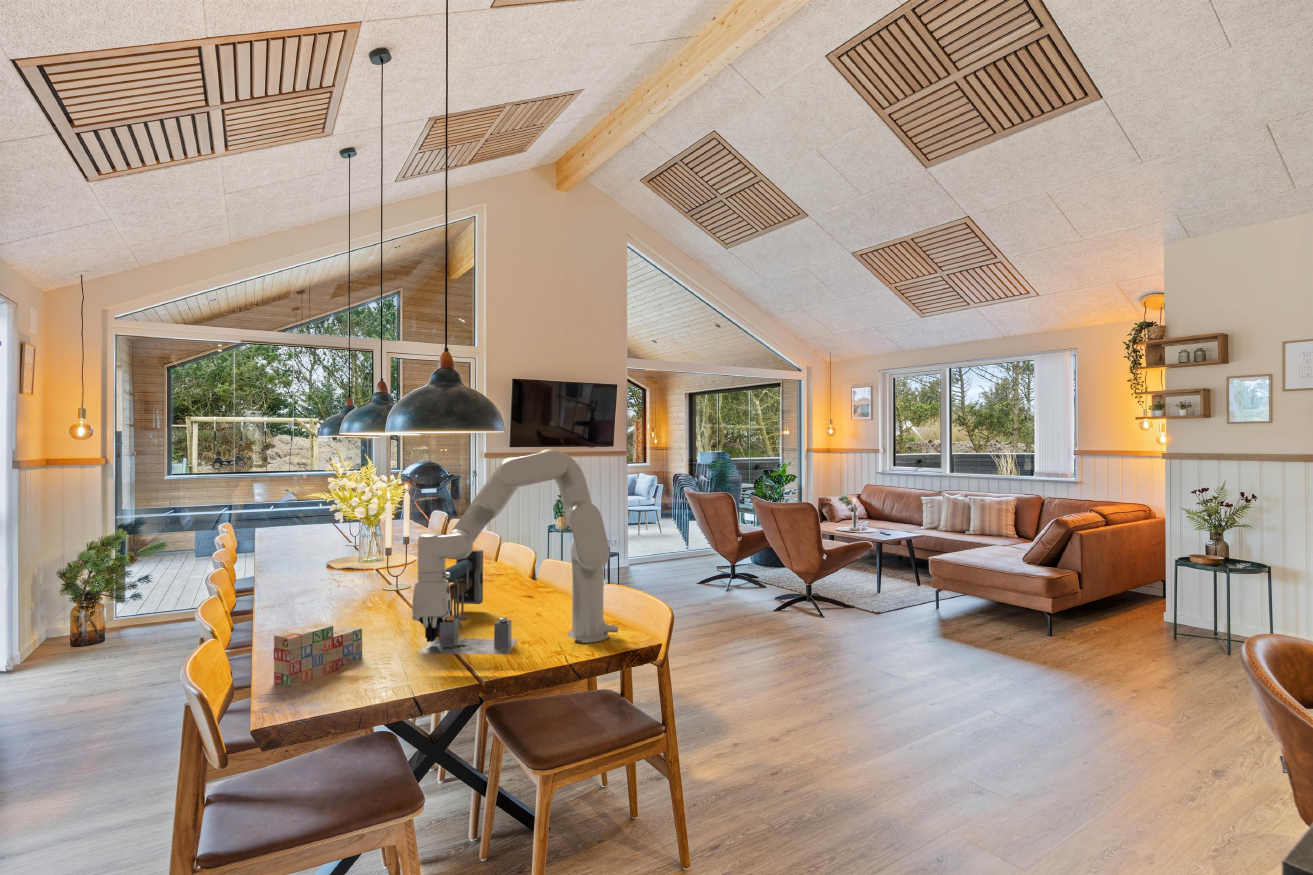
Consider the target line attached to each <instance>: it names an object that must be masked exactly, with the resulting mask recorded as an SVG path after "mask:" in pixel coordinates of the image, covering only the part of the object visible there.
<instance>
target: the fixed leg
mask: <svg viewBox="0 0 1313 875" xmlns="http://www.w3.org/2000/svg"><path fill="white" fill-rule="evenodd" d="M493 626H494V628H493V629H494V630H493V631H494V632H493V636H494V637H493V639H494V648H509V647H510V645H511V639H512V619H508V617H506V616H503V617H498V619H497V620H495V622H494V624H493Z"/></svg>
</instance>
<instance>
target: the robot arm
mask: <svg viewBox="0 0 1313 875" xmlns="http://www.w3.org/2000/svg"><path fill="white" fill-rule="evenodd" d="M552 480H554V481H555V484H556V485H557V487H558V490H559V494H560V497H561V501H562V505H563V511H564V516H565V517H564V519H565V521H566V524H567V526H568V527H569V529H571V532H572V538H573V542H572V545H571V549H570V550H571V551H570V553H571V554H570V556H571V571H572V573H571V574H572V586H571V588H572V592H571V593H572V594H571V595H572V597H571V598H572V602H571V603H572V604H571V606H572V609H571V610H572V615H571V616H572V618H571V620H572V621H571V622H572V625H571V626H572V630H570V631H568V632H567V637H568V638H571V639H575V640H574V642H575V643H579V642H581V644H590V643H593V642H594V643H599V641H600V642H604V641H605V640H608V638H609V633H615V634H617V633H619V626H618V625H615V624H607V623H606V620H605V619H604V588H605V587H604V585H605V584H604V583H605V582H604V581H605V580H604V579H605V577H604V567H606V565H607V563H608V562H609V559H610V546H609V542H608V541H609V540H608V536H607V533H606V528H605V524H604V520H603V516H602V514H601V512H600V509H599V508H598V507H597V506H596V505H595V504H594V503H593V502H592V499H591V495H590V494H591V493H590V491H589V487H588V484H587V480H586V477H585V474H584V472H583V470H582V468H581V467H580V465H579V464H578V463H577V461H576V460H574V459H573V458H572V457H571V456H570V455H568V454H567V453H565V452H563V451H562V452H561V451H559V450H557V449H553V448H547V449H543V450H541V451H540V452H537V453H532V454H529V455H523V456H518V457H517V456H516V457H513V456H510V457H506V458H505V459H503V460H502V461H500V463H499V464H498V465H497V467H496V468H495V470H493V472H492V474H491V475H490V477H488V479H487V480H486V482H485V483H484V485H483V486H482V487H481V489H480V490H479V491H478V493H477V494H476V496H474V498H473V499H472V501H471V503H470V505H469V506H468V507H467V509H466V510H465V512H464V513H463V515H462V516H461V517H460V518H459V520H458V521H457V523H456V524H455V525H454V527H453V528H452V529H451V531H450V532H449V534H443V533H441V532H427V533H422V534H420V535H419V536H418V538H417V580H416V581H415V583H414V588H413V593H412V604H411V606H412V607H411V610H412V620H413V621H416V622H420V623H421V624H422V625H423V628H425V629H424V630H425V631H424V632H425V633H424V634H425V639H426V642H428V643H430V642H433V641H434V640H435V639H438V633H437V631H438V625H439V624H440V622H441V621H445V618H449V617H451V616H450V612H451V594H450V587H449V585H450V583H449V582H448V580H445V579H446V578H447V577H450V573H448V572H446V570H445V569H446V559H449V560H456V559H464V558H466V557H468V556H469V555H470V553H471V552H472V550H474V547H473V546H474V543H475V542H476V540H477V539H478V537H479V535H480V534H481V533H482V531H483V530H484V529H485V527H486V526H487V525H488V524H489V523H490V522H491V521H493V519H495V518H496V517H497V516H499V514H500V513H502V511H503V509H504V508H505V507H506V505H507V504H508V502H509V501H510V500H511V498H512V497H513V495H514V494H515V492H516V491H517V490H518V489H519V487H526V486H529V485H536V484H539V483H544V482H548V481H552ZM430 617H433V622H432V625H431V619H430ZM594 643H593V644H594Z"/></svg>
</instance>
